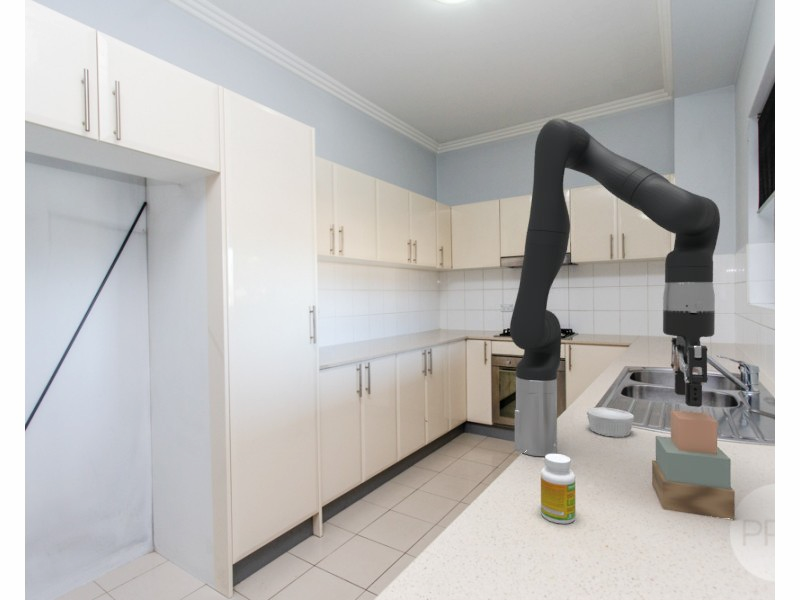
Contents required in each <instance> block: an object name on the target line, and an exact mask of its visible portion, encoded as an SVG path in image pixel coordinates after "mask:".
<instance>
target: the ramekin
mask: <svg viewBox="0 0 800 600" xmlns="http://www.w3.org/2000/svg"><path fill="white" fill-rule="evenodd" d="M586 414H587V419H588V423H589V425H588V426H589V429H590V430H591V431H592V432H593V431H594V432H596V433H598V434H597V435H599V434H602V435H601V436H603V435H606V436H605V437H607V436H615V437H614V438H624V437H623V436H626V437H628V436H629V435H630V434H631V430H632V427H633V426H632V425H633V422H634V419H635V415H634V414H632V413H631V412H629V411H625V410H622V409H618V408H611V407H592V408H588V409H586ZM594 432H593V433H594ZM596 433H595V434H596ZM627 435H628V436H627Z"/></svg>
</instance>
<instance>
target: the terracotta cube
mask: <svg viewBox="0 0 800 600" xmlns="http://www.w3.org/2000/svg"><path fill="white" fill-rule="evenodd" d="M670 437H671V441H672V442H673V443H674V445H675V446H676V447H677V448H678V449H679V450H680V451H690V452H700V453H710V454H717V447H718V421H717V420H716V419H714V418H713V417H712V416H711V415H710V414H708V413H707V412H697V411H696V412H694V411H681V410H670Z"/></svg>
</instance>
